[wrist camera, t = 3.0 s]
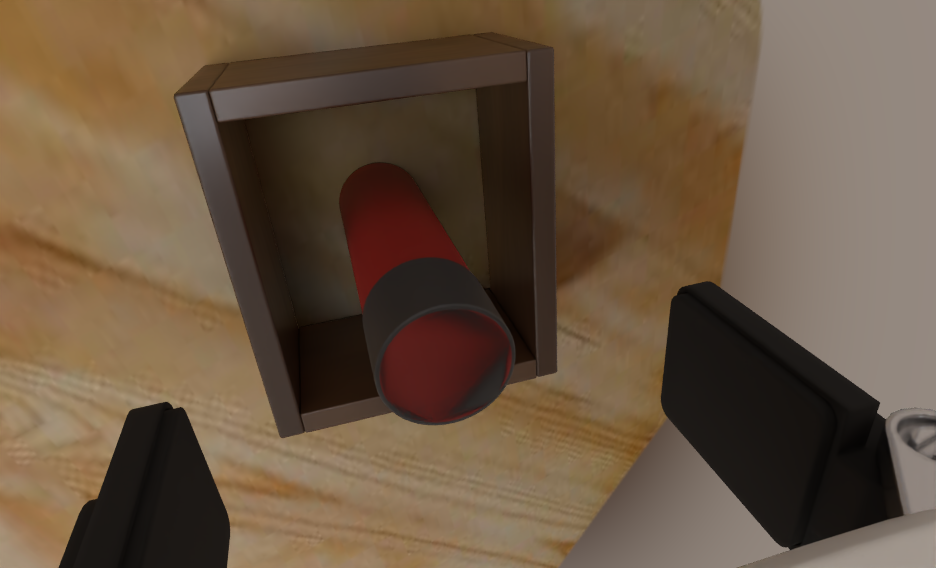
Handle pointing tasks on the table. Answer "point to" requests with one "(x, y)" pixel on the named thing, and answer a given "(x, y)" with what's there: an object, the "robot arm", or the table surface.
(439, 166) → the table surface
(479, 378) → the marker pen
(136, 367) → the table surface
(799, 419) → the robot arm
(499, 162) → the wooden box
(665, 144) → the table surface
